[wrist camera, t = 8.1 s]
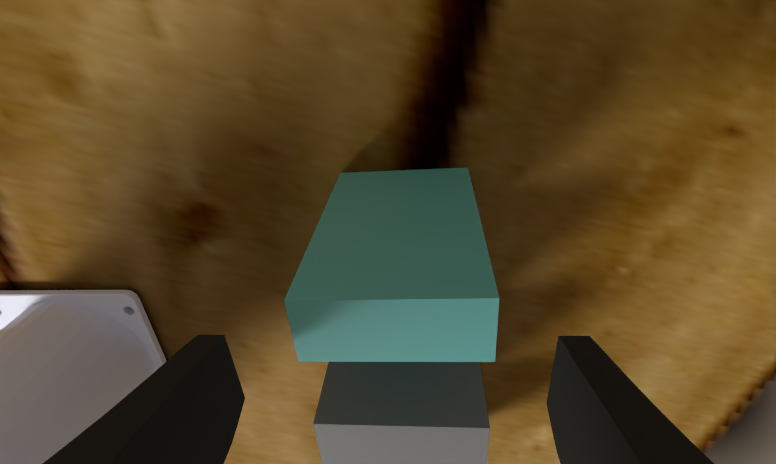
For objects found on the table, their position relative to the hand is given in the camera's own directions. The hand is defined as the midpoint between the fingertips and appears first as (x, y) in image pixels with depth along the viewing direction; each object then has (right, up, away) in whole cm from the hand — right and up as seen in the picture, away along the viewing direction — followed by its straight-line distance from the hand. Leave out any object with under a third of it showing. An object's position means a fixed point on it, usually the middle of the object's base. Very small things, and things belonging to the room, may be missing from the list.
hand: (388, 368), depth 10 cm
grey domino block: (+1, +1, +10) cm, 10 cm away
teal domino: (+1, +5, +8) cm, 9 cm away
